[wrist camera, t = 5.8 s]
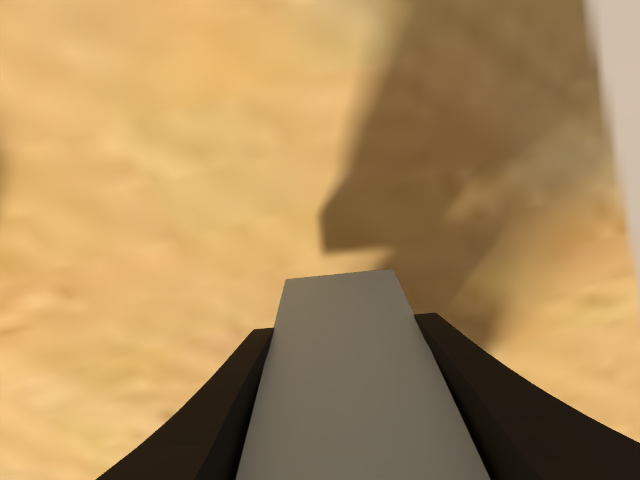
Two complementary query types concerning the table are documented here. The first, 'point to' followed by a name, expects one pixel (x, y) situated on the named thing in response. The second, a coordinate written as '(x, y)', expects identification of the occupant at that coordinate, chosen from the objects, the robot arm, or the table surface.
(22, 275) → the table surface
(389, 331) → the domino
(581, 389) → the table surface
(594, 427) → the robot arm
